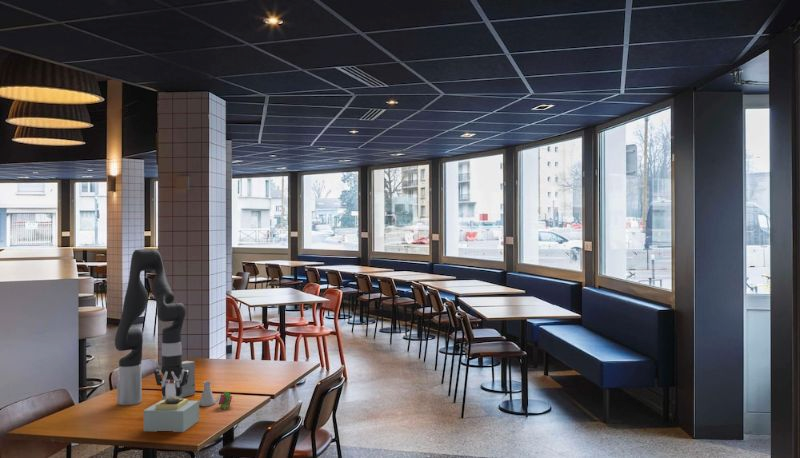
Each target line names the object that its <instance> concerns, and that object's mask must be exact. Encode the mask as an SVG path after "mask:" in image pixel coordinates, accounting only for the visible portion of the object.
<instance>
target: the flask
mask: <svg viewBox="0 0 800 458" xmlns="http://www.w3.org/2000/svg"><path fill="white" fill-rule="evenodd" d="M211 383H212V381H208V380H206V381H204V382H203V383H202V384H203V391H202V394H201V398H200V400H199V407H200V406H201V407H210V406H213V405H216V404H217V402H216V399H215V396H214V394H213V392H212V388H211Z"/></svg>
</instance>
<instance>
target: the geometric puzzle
mask: <svg viewBox="0 0 800 458" xmlns="http://www.w3.org/2000/svg"><path fill="white" fill-rule="evenodd" d="M231 393H232V392H227V391H223V393H221V394H218V395H217V396H216V399H215V401H216V404H218V406H219V408H222V409H228V407H230V406H231V404H232V402H233V403H234V400H232V399H233V396H232V394H231Z"/></svg>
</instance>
